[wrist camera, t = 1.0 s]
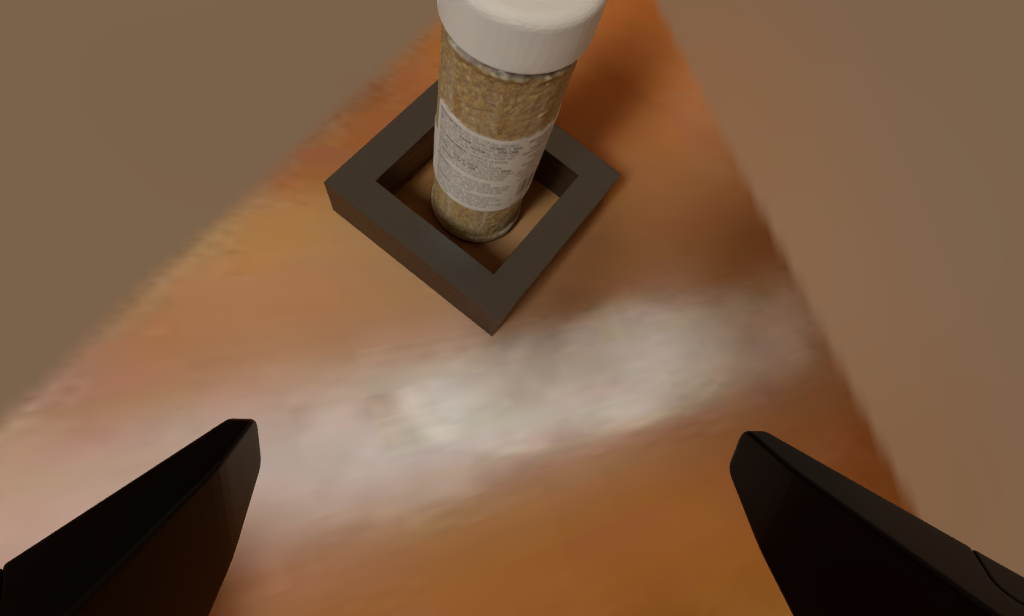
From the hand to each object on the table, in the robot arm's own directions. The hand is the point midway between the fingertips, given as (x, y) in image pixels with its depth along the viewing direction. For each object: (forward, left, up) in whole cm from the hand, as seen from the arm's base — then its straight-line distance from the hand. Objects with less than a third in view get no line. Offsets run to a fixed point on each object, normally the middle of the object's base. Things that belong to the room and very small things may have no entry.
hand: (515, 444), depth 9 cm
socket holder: (+10, +7, -13) cm, 18 cm away
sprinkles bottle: (+10, +7, -13) cm, 18 cm away
